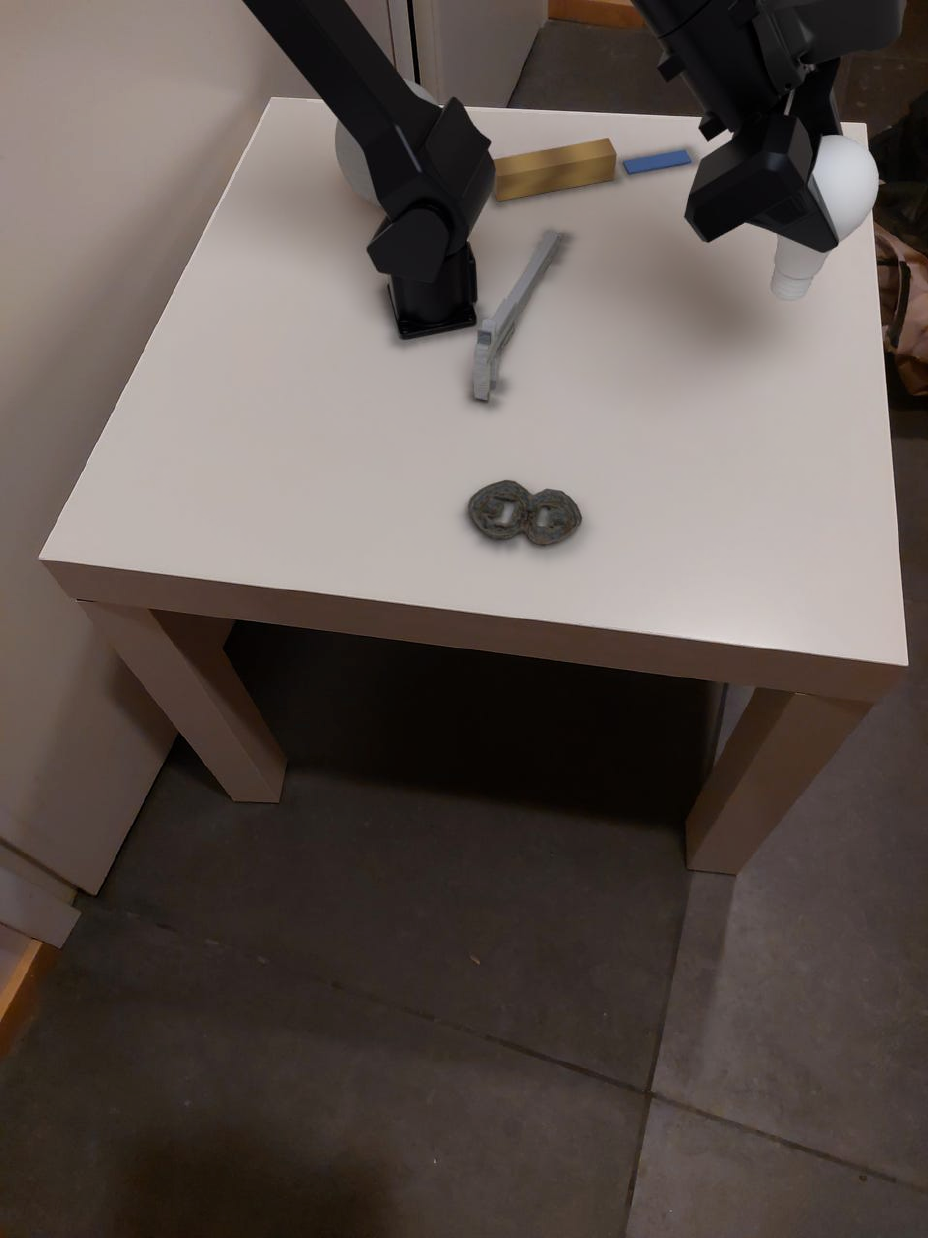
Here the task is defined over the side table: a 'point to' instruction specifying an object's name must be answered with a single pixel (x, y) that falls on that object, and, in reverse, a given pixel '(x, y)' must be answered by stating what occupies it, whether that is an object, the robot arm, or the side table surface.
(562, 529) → the corroded twin loop
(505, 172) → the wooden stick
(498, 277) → the side table surface
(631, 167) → the tape mark
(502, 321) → the caliper
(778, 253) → the lightbulb
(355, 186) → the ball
